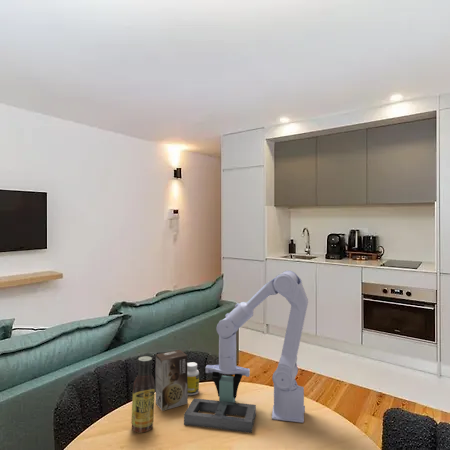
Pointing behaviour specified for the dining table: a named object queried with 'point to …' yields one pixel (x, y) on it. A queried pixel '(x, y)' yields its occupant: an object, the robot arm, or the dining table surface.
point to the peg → (226, 389)
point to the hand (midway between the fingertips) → (227, 395)
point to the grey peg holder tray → (220, 415)
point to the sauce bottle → (143, 397)
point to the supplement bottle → (192, 378)
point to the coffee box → (171, 379)
